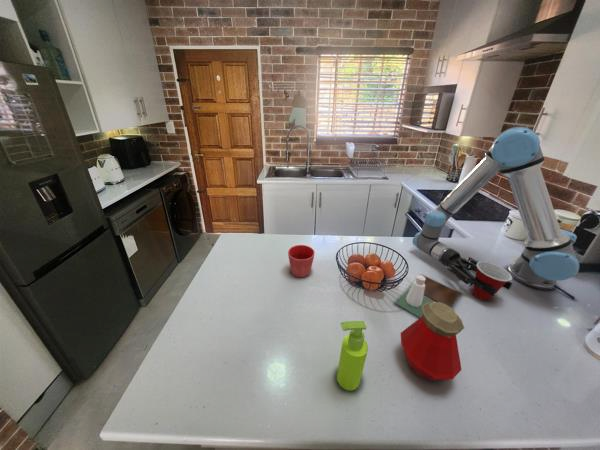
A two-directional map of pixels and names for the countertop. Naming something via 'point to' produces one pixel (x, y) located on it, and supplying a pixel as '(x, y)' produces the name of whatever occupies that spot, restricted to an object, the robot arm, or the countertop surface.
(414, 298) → the pepper shaker
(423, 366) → the bottle
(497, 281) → the plastic cup
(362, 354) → the soap dispenser
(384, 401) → the countertop surface
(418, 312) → the sage mat
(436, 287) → the walnut pad
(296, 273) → the flower pot
